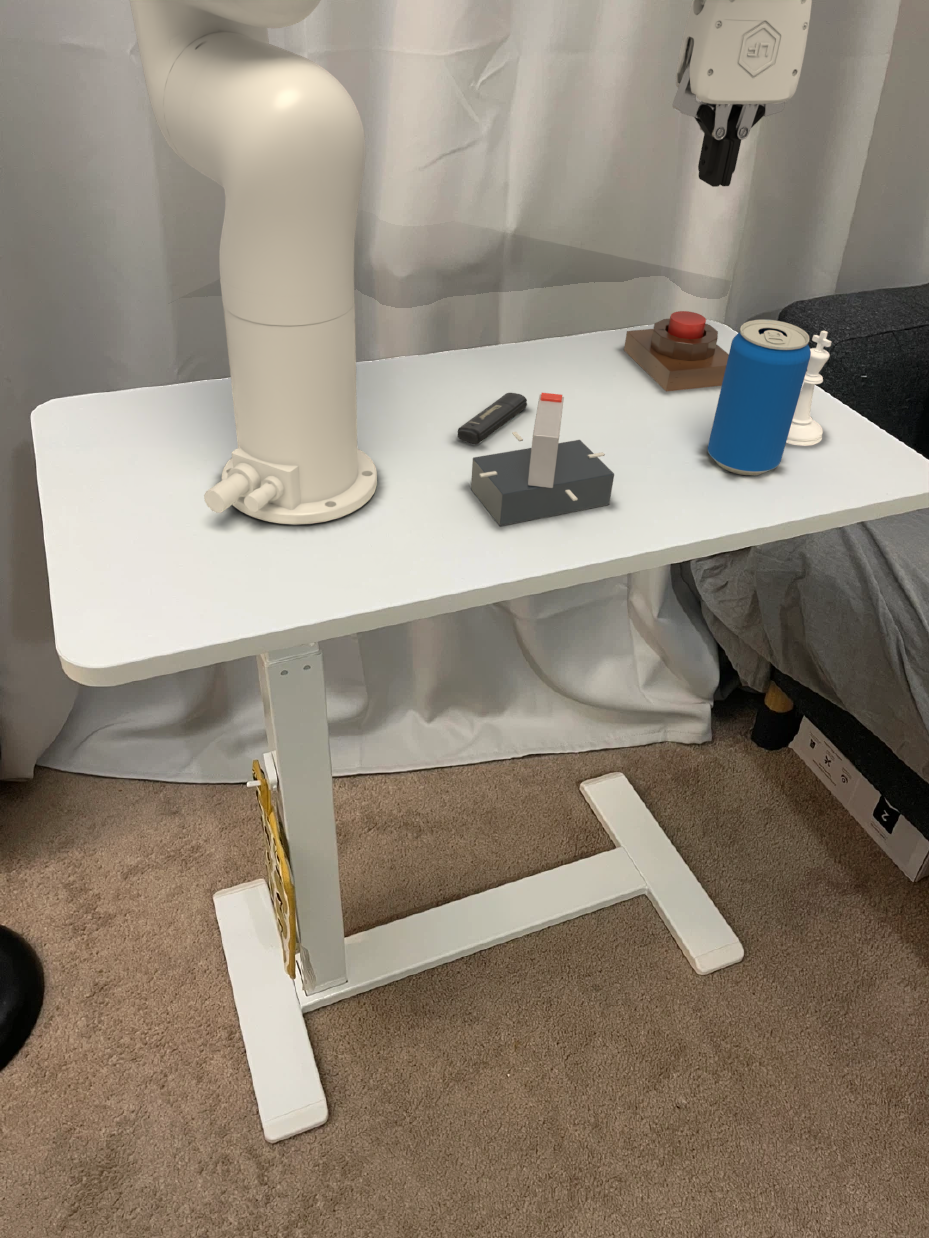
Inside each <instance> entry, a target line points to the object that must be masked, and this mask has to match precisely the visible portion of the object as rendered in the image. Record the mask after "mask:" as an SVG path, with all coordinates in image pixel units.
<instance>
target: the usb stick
mask: <svg viewBox="0 0 929 1238" xmlns="http://www.w3.org/2000/svg"><path fill="white" fill-rule="evenodd" d="M527 402H528V400H527V398H526V396H524V395H523V394H522V393H521V394H520V393H516V392H506V393H505V394H503V395H502V396H501V397H500V398H498V399H497V400H495V401H494V402H492V404H490V405H489V406H487V407H486V408H485V409H483V410H482V411H480V412H479V413H477V414H476V415H475V416H473V417H472V418H470V420H468V421H467V422H465V423H464V424H462V425H461V426H459V427H458V428H457V439H459V440H461V441H462V442H465V443H467V444H470V445H479V444H480V443H481V442H483V441H485V440H486V439H487V438H489V436H491V435H492V434H493V433H495V432H496V431H497V430H499V429H500V428H502V427H503V426H504V425H506V424H507V423H508V422H509V421H510V420H512V419H514V418H515V417H516V416H517V415H518V414H520V413H521V412H522V411H524V410H525V409H526V408H527V406H528V403H527Z"/></svg>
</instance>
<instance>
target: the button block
mask: <svg viewBox="0 0 929 1238" xmlns="http://www.w3.org/2000/svg"><path fill="white" fill-rule="evenodd" d="M669 321H670V318H663V319H660V320H658V321H657V322H655V323H654V324H653V328H647V329H634V330H627V331H626V335H625V340H624V346H623V351H624V352H625V353H626V354H627V355H628V356H629V357H630V358H631V359H632V360H633V361H634V362H635V363H636V364H637V365H638V366H639V367H640V368H641V369H642V370H643V371H644V372H646V374H647V375H649V376H650V377H651V379H653V381H655V382H656V384H658V386H660V387H661V388H662V389H663V390H664V391H665V392H666V393H667V392H675V391H685V390H694V389H695V390H696V389H703V388H704V389H705V388H713V387H714V388H715V387H722V382H723V378H724V374H725V369H726V365H727V360H728V356H729V352H727V351H726V350H724V349H723V348H722V347H721V346H720V345H718V344H717V343H718V339H719V331H718V330H717V329H716V328H714V327H713V326H712V325H710V324H708V323H706V324H705V328H704V333H703V337H702V338H699V339H684V338H678V337H676V336H673V335H670V334H669V333H668V326H669Z"/></svg>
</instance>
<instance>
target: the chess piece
mask: <svg viewBox="0 0 929 1238" xmlns="http://www.w3.org/2000/svg"><path fill="white" fill-rule="evenodd" d="M828 334H829V332H828V331H826V330H821V331H820V333H819V335H818V334H814V335H813V336H812V339H811V341H812V342H814V343H817V344H816V347H812V348H811V347H810V351H811V356H810V360H809V363H808V367H807V370H806V374H805V378H804V381H803V385H802V388H801V392H800V395H799V399H798V402H797V406H796V409H795V413H794V416H793V420H792V423H791V427H790V431H789V434H788V438H787V441H786V444H789V445H793V446H801V447H807V446H809V447H810V446H813V445H817V444H818V443H820V442H821V441H822V440H823V433H824V429H823V427H822V425H821V424H819V422H817V421H815V420H814V419H813V417H812V416H811V410H812V409H811V408H812V403H813V397H814V391H815V387H816V385H820V384H822V383H823V382H824V379H823V378H824V377H823V376H822V375H821V374H820V372H821V370H822V369H823V367H824V366H825V364H826V363H827V362H828V361H829V359H830V356H831V354H830V352H828V351H827V350H826V349H824V347H826V348H830V347H831V346H832V343H833V341H831V340H829V339H827V337H828Z"/></svg>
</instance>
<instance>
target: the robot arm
mask: <svg viewBox="0 0 929 1238" xmlns="http://www.w3.org/2000/svg"><path fill="white" fill-rule="evenodd" d="M321 1H322V0H129V4H130V9H131V16H132V20H133V25H134V31H135V36H136V39H137V40H136V41H137V45H138V52H139V55H140V56H139V57H140V61H141V66H142V72H143V75H144V82H145V85H146V90H147V95H148V97H149V103H150V106H151V109H152V113H153V116H154V119H155V122H156V125H157V126H158V129H159V131H160V133H161V135H162V137H163V138H164V140H165V142H166V143H167V145H168V146H169V148H170V149H171V150H172V151H173V152H174V153H175V154H176V155H177V156H178V157H179V158H180V159H181V160H182V161H183V162H184V163H186V164H187V165H188V166H190V167H191V168H192V169H194V170H196V171H197V172H198V173H200V174H201V175H204V176H205V177H207V178H208V179H210V180H211V181H213V182H215V183H216V184H218V185H219V186H220V187H222V188H223V190H224V215H223V223H222V228H221V235H220V242H219V253H218V255H219V258H218V259H219V260H218V263H219V264H218V265H219V280H220V291H221V302H222V306H223V307H222V308H223V318H224V326H225V335H226V337H225V338H226V344H227V345H226V346H227V355H228V364H229V374H230V384H231V385H230V386H231V394H232V403H233V405H232V406H233V413H234V423H235V432H236V440H237V441H236V442H237V443H236V444H237V448H235V449H234V450H233V451H232V452H231V457H230V458H229V460H228V461H227V462H226V463H225V465H224V467H223V469H222V472H221V480H220V481H219V482H217V483H216V484H214V485H213V486H211V487H210V488H209V489H208V490H206V491H205V492H204V494H203V497H204V498H203V499H204V503H205V504H206V506H207V507H208V508H209V510H211V511H212V512H214V513H216V514H222V513H223V512H224V511H226V510H228V508H230V507H232V506H233V507H234V508H235V509H237V510H238V511H239V512H241V513H244V514H245V515H247V516H249V517H252V518H254V519H258V520H261V521H264V522H269V523H274V524H281V525H311V524H312V525H313V524H319V523H325V522H329V521H333V520H336V519H340V518H343V517H344V516H348V515H349V514H352V513H354V512H355V511H357V510H359V509H361V508H362V507H363V506H364V505H366V503H367V502H369V501H370V500H371V498H372V497H373V495H374V494H375V493H376V489H377V486H378V481H377V480H378V471H377V467H376V464H375V462H374V461H373V460H372V458H371V457H370V456H369V455H368V454H367V453H366V452H365V451H363V450H361V449H360V448H358V409H357V407H358V403H357V402H358V401H357V397H358V396H357V354H356V353H357V346H356V345H357V343H356V340H357V339H356V338H357V337H356V304H355V303H356V302H355V244H356V243H355V242H356V241H355V240H356V228H357V217H358V210H359V203H360V197H361V191H362V187H363V180H364V175H365V165H366V155H367V154H366V136H365V130H364V125H363V122H362V117H361V115H360V112H359V111H358V108H357V106H356V104H355V102H354V100H353V98H352V96H351V95H350V93H349V92H348V90H347V89H346V87H345V86H344V85H343V84H342V83H341V82H340V81H339V79H337V78H336V77H335V76H334V75H333V74H332V73H331V72H329V71H328V70H327V69H326V68H324V67H322V66H321V65H320V64H318V63H317V62H314V61H313V60H311V59H309V58H307V57H304V56H302V55H300V54H297V53H296V52H292V51H290V50H287V49H284V48H281V47H279V46H276V45H275V44H270V40H269V31H268V29H271V30H272V29H282V28H287V27H290V26H293V25H296V24H299V23H301V22H303V21H304V20H305V19H306V18H307V17H309V16H310V15H311V14H312V13H313V12H314V11H315V9H316V8H318V6H319V4H320V2H321ZM812 3H813V0H692V1H691V3H690V7H689V10H688V14H687V17H686V21H685V26H684V30H683V34H682V38H681V42H680V43H681V44H680V48H679V53H678V58H677V65H676V71H675V86H676V88H677V90H676V93H675V96H674V99H673V101H672V108H673V110H675V111H676V112H678V113H679V114H683V115H686V116H689V117H692V118H694V119H695V121H696V123H697V124H698V126H699V130H700V132H701V133H703V138H702V142H701V143H702V144H701V149H700V154H699V159H698V164H697V170H698V179H699V180H701V181H703V182H704V183H706V184H707V185H709V186H710V187H712V188H714V187H715V188H716V187H720V186H722V187H730V185H731V182H732V178H733V174H734V172H736V171H735V170H736V168H737V162H738V159H739V153H740V149H741V145H742V141H744V140H745V139H747V138H748V137H749V135H750V133H751V130H752V128H753V127H754V126H755V125H756V124H758V122H760V120H762V118H764V117H765V118H766V117H768V116H773V115H776V114H779V113H781V112H783V110H784V109H785V106H786V102H787V101H789V100H790V99H792V98H793V97H794V95H795V93H796V92H797V90H798V89H797V88H798V85H799V82H800V78H801V73H802V68H803V63H804V57H805V54H806V47H807V41H808V34H809V28H810V21H811V12H812ZM697 99H698V100H697Z"/></svg>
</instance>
